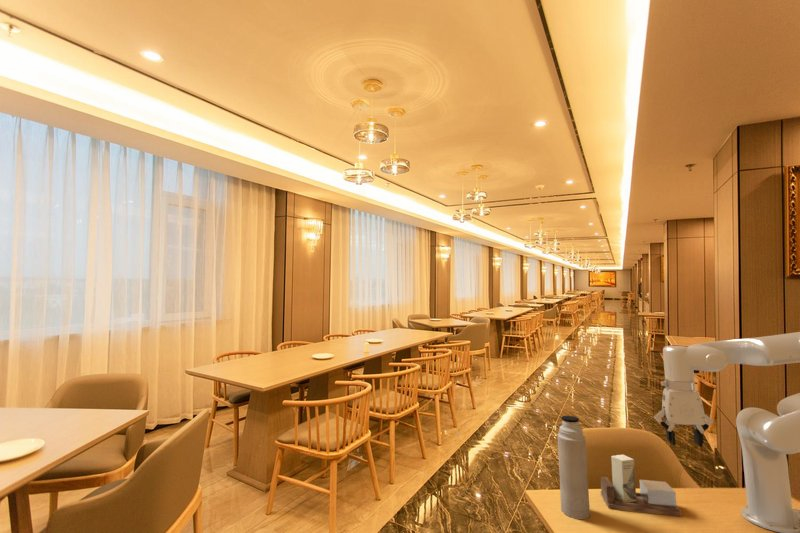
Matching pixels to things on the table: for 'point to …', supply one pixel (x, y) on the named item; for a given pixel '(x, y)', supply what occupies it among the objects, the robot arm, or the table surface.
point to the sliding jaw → (657, 493)
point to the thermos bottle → (573, 469)
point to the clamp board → (637, 506)
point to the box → (623, 478)
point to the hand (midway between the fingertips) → (685, 444)
